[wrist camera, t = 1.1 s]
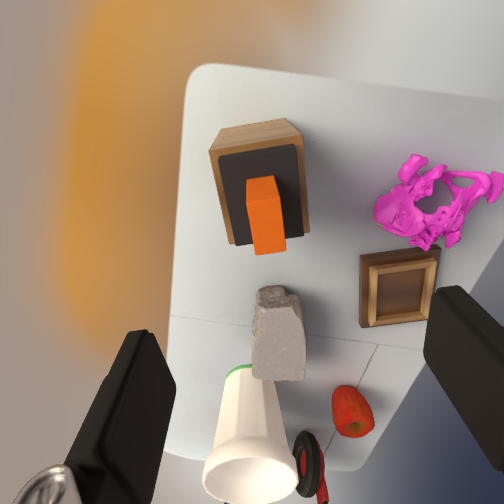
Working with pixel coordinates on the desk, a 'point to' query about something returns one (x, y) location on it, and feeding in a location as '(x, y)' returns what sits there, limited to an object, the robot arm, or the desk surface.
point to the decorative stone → (278, 336)
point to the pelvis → (417, 187)
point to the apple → (351, 412)
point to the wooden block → (252, 140)
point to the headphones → (310, 468)
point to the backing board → (397, 286)
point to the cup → (250, 444)
